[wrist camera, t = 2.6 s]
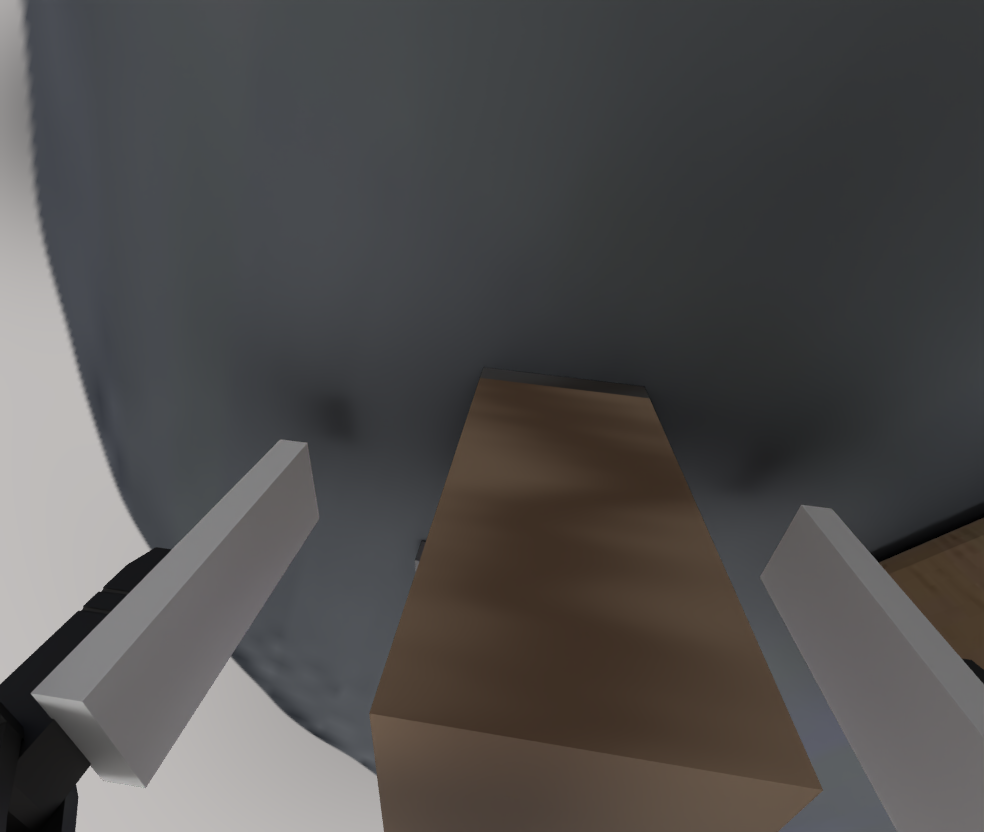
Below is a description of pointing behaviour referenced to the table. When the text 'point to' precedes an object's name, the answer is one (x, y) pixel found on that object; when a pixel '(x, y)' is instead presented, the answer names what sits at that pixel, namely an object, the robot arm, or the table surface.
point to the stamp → (577, 639)
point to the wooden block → (948, 586)
